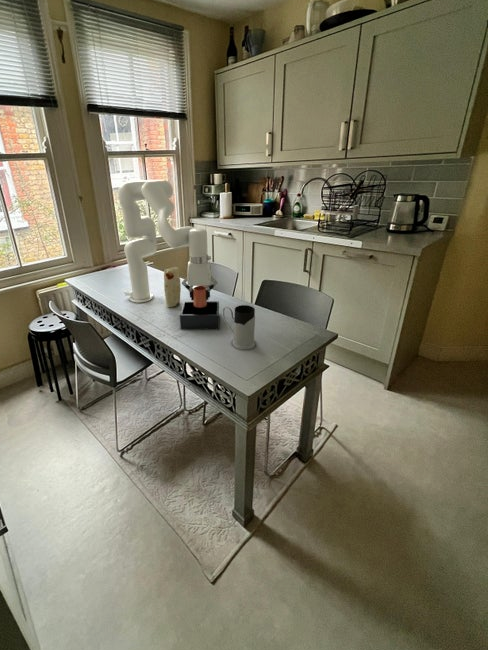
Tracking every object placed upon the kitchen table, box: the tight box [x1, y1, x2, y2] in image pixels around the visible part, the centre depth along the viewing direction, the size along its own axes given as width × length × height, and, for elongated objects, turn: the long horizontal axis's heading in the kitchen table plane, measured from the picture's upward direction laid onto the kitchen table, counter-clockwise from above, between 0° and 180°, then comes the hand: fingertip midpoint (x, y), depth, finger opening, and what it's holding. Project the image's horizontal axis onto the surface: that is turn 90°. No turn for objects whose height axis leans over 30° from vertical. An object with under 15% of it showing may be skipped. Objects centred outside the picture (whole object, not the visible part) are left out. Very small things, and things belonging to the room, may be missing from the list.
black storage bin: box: [179, 300, 220, 330], centre depth 142 cm, size 17×15×7 cm
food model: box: [163, 266, 182, 308], centre depth 157 cm, size 10×7×20 cm
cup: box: [192, 286, 208, 308], centre depth 138 cm, size 6×6×8 cm
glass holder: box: [222, 304, 256, 350], centre depth 123 cm, size 9×14×15 cm, turn 49°
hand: (200, 298), depth 139 cm, fingers closed on cup, 6 cm apart
